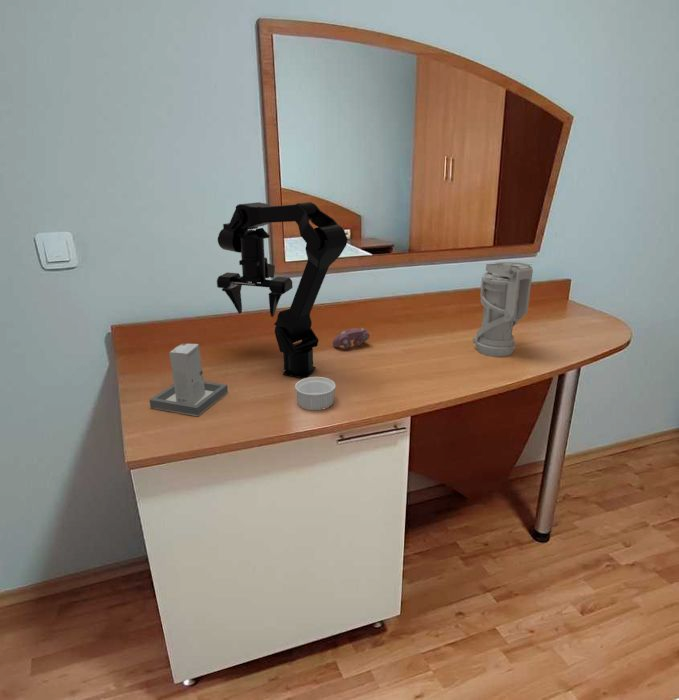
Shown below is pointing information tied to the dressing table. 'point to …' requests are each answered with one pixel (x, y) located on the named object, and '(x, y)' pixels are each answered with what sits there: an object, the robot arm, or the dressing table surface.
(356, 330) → the video game controller
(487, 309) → the lantern
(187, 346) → the skincare box
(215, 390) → the holder
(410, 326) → the dressing table surface
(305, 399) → the ramekin
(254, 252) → the robot arm
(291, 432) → the dressing table surface
